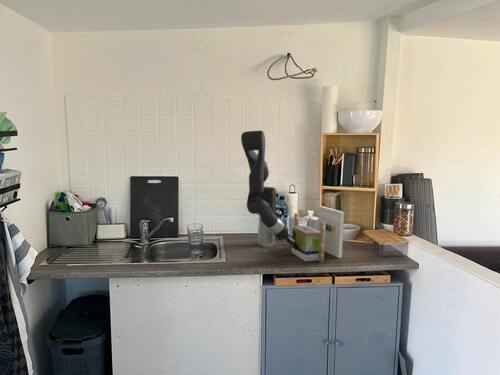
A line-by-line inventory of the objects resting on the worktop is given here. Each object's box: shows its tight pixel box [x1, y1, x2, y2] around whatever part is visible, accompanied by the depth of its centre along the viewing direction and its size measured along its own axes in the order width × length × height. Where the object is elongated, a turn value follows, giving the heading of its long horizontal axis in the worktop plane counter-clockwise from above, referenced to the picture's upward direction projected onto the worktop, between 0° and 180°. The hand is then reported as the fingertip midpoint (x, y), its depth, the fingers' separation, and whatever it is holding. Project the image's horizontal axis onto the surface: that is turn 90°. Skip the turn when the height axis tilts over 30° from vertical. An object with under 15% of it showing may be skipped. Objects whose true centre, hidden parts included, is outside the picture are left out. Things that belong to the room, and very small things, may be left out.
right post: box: [318, 222, 325, 263], centre depth 185 cm, size 2×2×20 cm
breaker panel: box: [317, 205, 345, 259], centre depth 199 cm, size 18×3×24 cm, turn 28°
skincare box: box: [307, 216, 318, 230], centre depth 214 cm, size 8×7×16 cm
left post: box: [293, 212, 300, 227], centre depth 204 cm, size 2×2×20 cm
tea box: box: [291, 225, 320, 262], centre depth 193 cm, size 15×10×15 cm
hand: (296, 248), depth 192 cm, fingers closed
